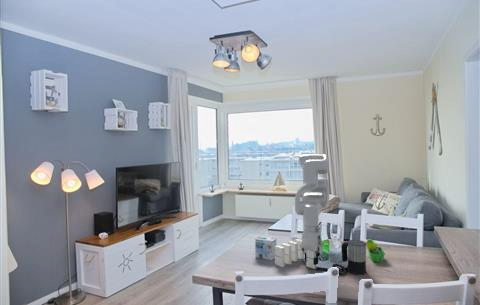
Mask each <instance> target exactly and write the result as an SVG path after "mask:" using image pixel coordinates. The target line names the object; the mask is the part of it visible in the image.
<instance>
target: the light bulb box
mask: <svg viewBox="0 0 480 305" xmlns="http://www.w3.org/2000/svg"><path fill="white" fill-rule="evenodd" d="M275 246H277V237H269V236H263V235H260V236H258V237H257V238H255V247H254V248H255V252H254V253H255V254H254V255H255V258H259V259H264V260H269V261H272V260H275Z"/></svg>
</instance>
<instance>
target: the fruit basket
mask: <svg viewBox="0 0 480 305" xmlns="http://www.w3.org/2000/svg"><path fill="white" fill-rule="evenodd" d="M365 242H366V243H367V244H366V249H367V251H368V256H369V257H370V260H371V262H373V263H376V262H377V263H383V261H384V257H385V255H386V253H385V251H384V250H383V248H382V247H380V246H378V243H376V242H375V241H374V240H373V239H372V238H367V239H366V240H365Z"/></svg>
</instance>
